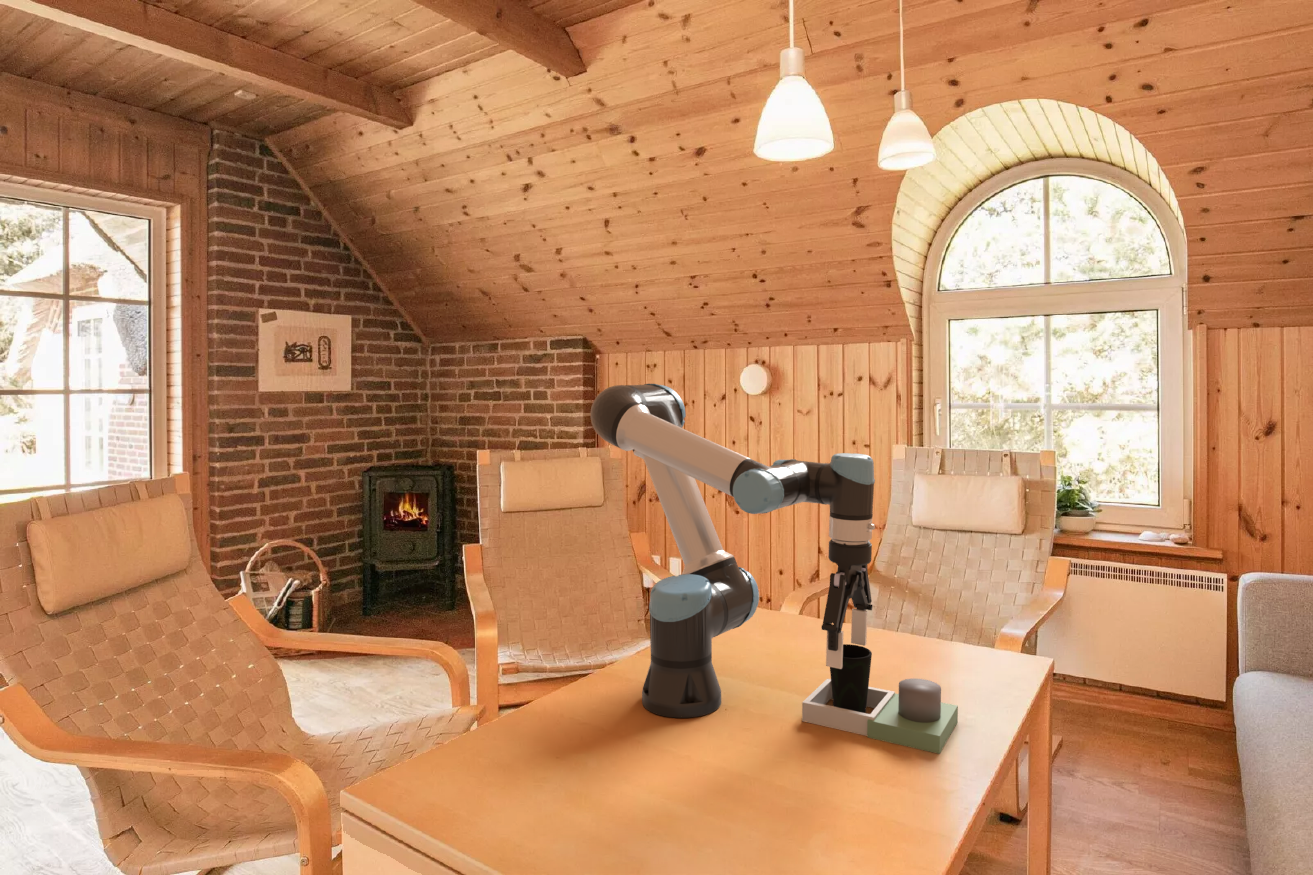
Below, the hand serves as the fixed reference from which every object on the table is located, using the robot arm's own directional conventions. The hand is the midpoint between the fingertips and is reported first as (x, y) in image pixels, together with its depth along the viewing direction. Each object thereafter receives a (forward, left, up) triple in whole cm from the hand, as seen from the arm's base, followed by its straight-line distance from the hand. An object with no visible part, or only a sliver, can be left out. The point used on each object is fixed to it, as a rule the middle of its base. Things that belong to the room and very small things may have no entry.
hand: (846, 655), depth 147 cm
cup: (0, 0, -11) cm, 11 cm away
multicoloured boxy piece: (+6, 0, -11) cm, 13 cm away
